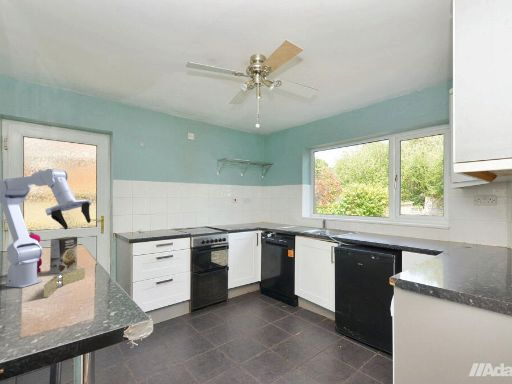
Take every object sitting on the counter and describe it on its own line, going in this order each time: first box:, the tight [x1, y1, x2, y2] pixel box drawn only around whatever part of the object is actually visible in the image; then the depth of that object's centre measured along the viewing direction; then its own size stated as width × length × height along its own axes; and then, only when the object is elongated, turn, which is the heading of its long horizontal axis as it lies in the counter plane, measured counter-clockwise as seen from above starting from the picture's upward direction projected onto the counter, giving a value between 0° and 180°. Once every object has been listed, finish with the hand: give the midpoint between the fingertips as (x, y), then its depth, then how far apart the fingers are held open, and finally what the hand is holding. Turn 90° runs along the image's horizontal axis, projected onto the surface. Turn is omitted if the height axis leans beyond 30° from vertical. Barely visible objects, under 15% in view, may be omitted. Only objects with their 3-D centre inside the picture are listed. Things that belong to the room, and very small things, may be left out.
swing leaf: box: [43, 274, 62, 298], centre depth 98 cm, size 3×13×4 cm, turn 21°
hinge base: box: [57, 267, 86, 289], centre depth 108 cm, size 3×13×4 cm, turn 165°
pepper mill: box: [29, 230, 43, 274], centre depth 124 cm, size 7×7×20 cm
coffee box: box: [49, 236, 78, 275], centre depth 126 cm, size 9×6×16 cm
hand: (78, 224), depth 99 cm, fingers open, 7 cm apart
